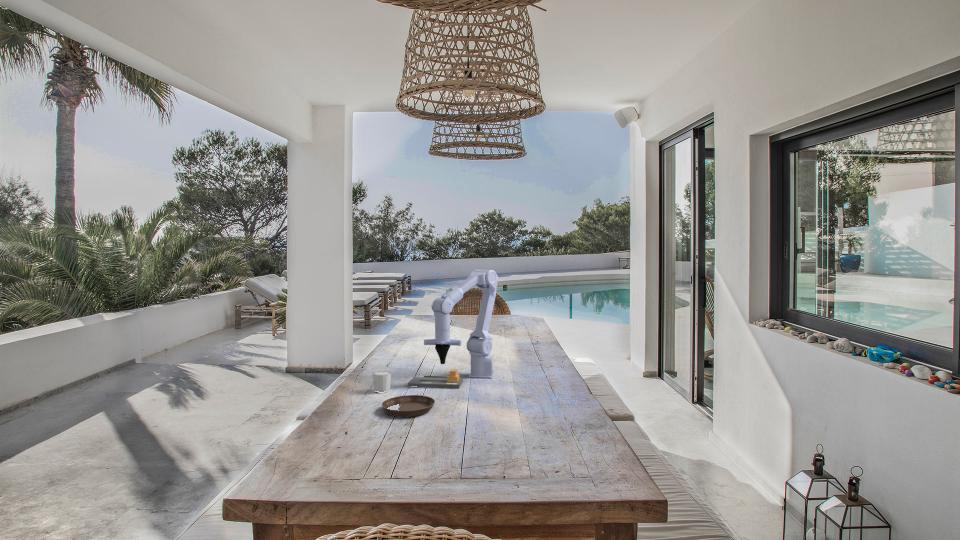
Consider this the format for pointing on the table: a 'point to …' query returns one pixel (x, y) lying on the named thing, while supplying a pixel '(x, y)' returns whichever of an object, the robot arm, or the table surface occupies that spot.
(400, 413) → the plant saucer
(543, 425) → the table surface
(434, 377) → the cord bundle
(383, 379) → the shot glass
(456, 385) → the breaker panel
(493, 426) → the table surface
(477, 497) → the table surface
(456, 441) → the table surface
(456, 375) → the breaker toggle
